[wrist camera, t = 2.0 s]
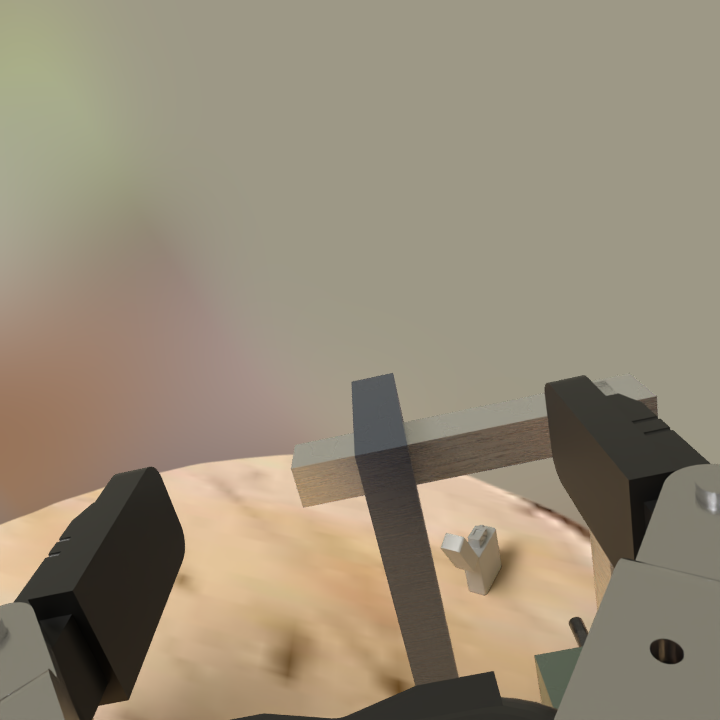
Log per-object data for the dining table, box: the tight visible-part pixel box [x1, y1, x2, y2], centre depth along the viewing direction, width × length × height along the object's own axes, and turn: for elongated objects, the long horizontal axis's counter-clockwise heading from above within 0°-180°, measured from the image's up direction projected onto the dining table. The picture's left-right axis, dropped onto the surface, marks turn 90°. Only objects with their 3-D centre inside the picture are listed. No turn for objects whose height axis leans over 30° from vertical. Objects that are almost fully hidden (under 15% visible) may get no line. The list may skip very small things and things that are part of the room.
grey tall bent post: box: [291, 373, 658, 709], centre depth 32 cm, size 16×18×28 cm
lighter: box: [441, 525, 502, 595], centre depth 52 cm, size 7×2×8 cm, turn 146°
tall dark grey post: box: [352, 373, 459, 686], centre depth 29 cm, size 6×2×20 cm, turn 1°
